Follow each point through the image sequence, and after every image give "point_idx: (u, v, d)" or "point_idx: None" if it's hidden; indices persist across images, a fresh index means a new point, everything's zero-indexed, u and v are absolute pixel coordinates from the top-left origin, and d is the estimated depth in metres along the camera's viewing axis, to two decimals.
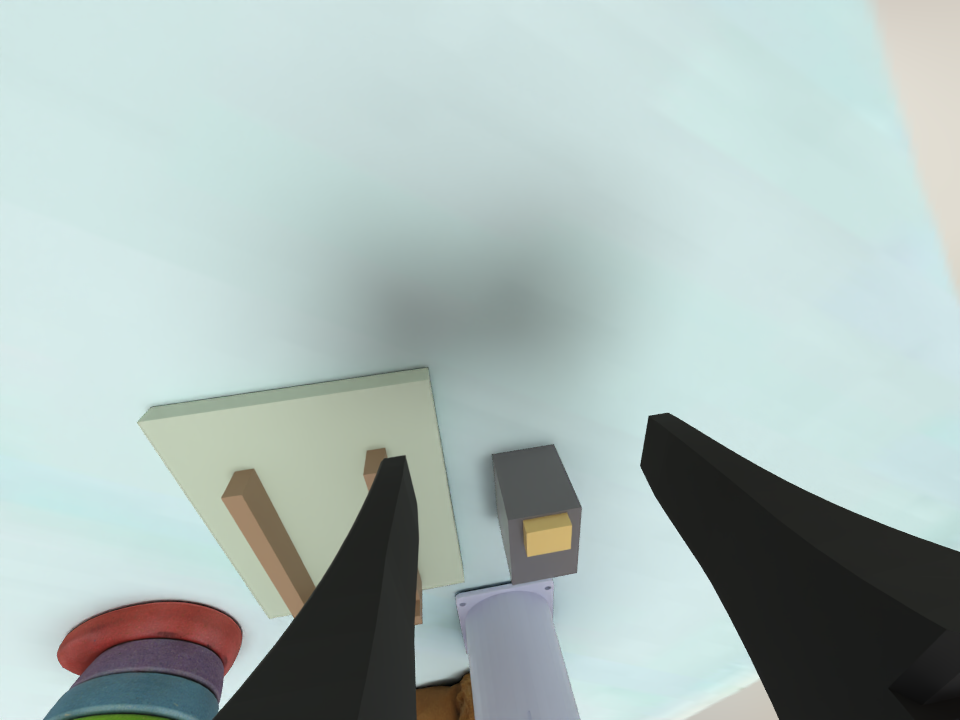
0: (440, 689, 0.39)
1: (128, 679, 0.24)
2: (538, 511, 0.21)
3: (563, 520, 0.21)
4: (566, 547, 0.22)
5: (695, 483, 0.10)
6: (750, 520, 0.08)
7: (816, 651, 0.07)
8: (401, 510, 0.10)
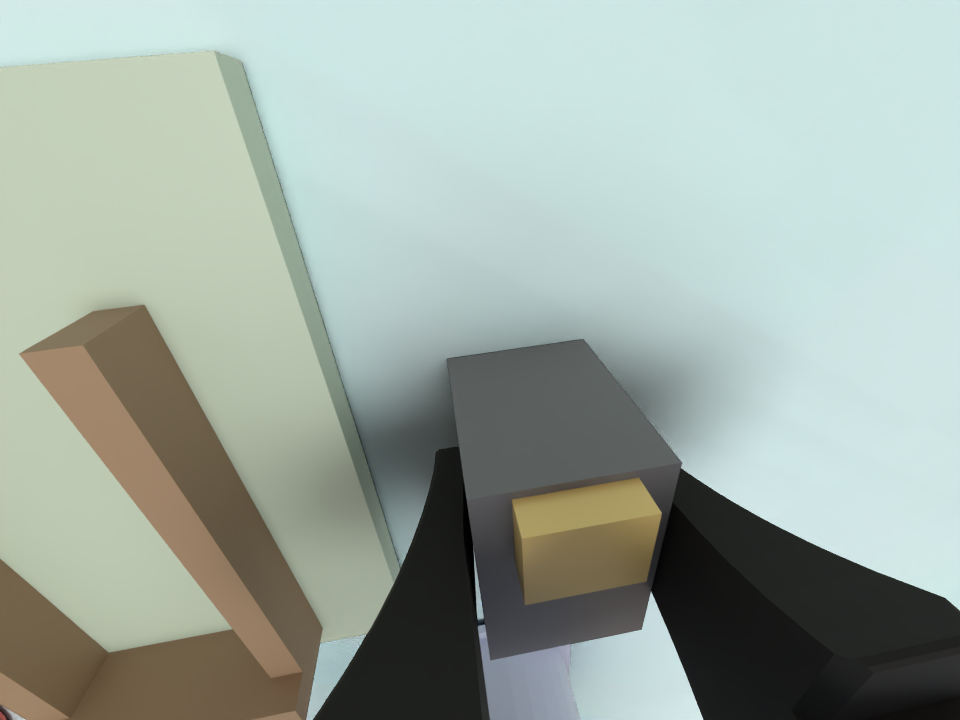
0: None
1: None
2: (556, 474, 0.07)
3: (632, 499, 0.07)
4: (635, 577, 0.08)
5: None
6: (680, 533, 0.08)
7: (735, 669, 0.07)
8: (464, 499, 0.10)
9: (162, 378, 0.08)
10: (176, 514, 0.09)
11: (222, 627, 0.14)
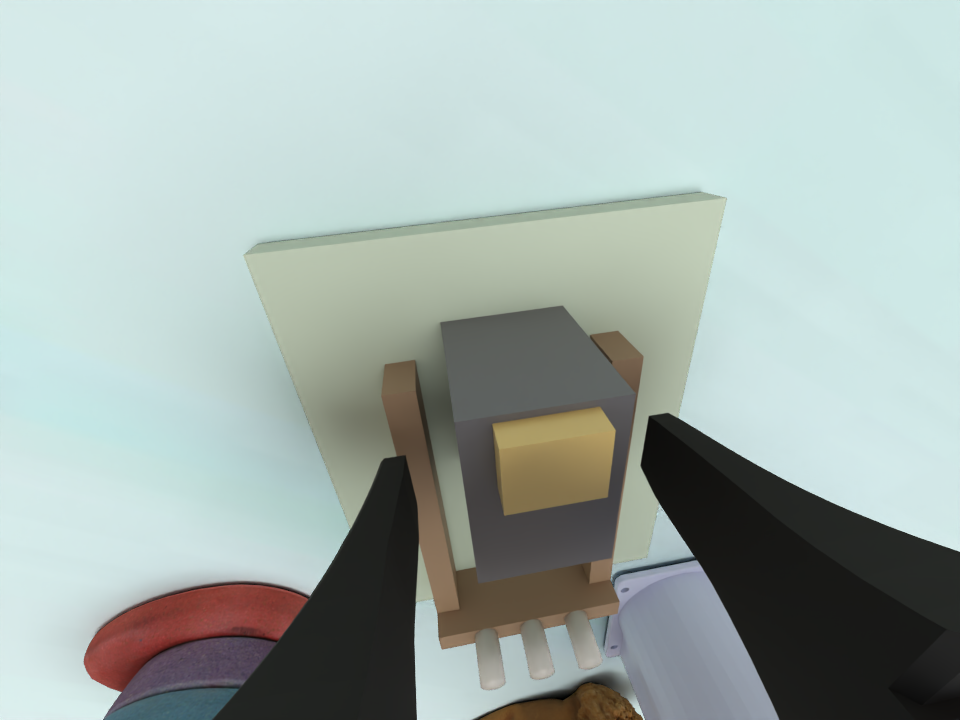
0: (552, 703, 0.31)
1: (199, 698, 0.15)
2: (530, 404, 0.09)
3: (592, 421, 0.08)
4: (597, 493, 0.09)
5: (695, 483, 0.10)
6: (750, 520, 0.08)
7: (816, 651, 0.07)
8: (401, 510, 0.10)
9: None
10: None
11: None
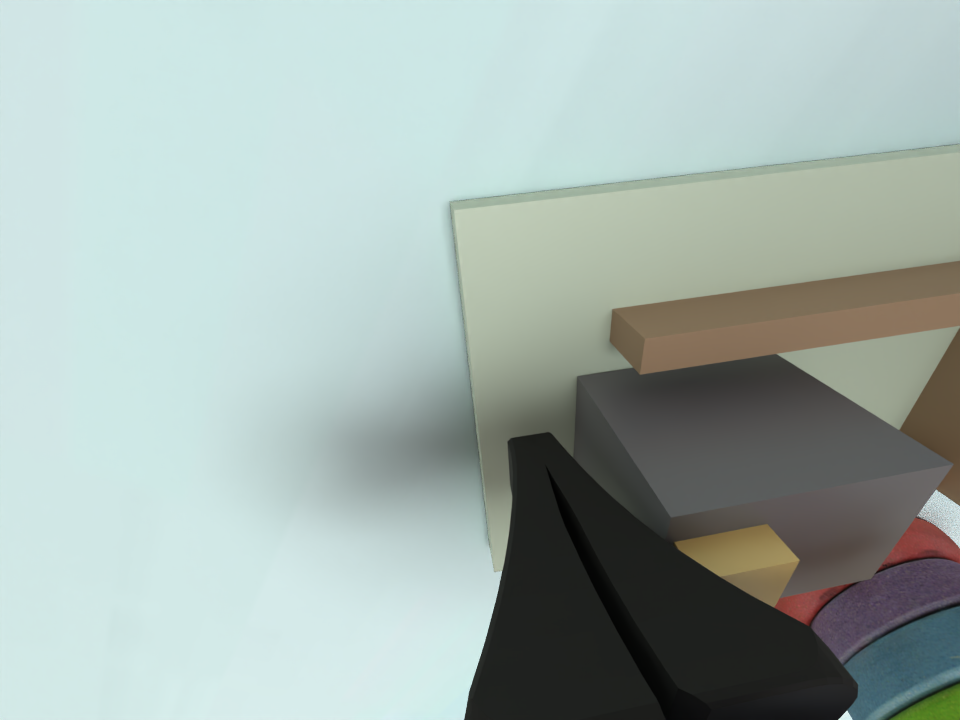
0: None
1: (864, 664, 0.18)
2: None
3: None
4: (786, 569, 0.08)
5: None
6: (584, 551, 0.08)
7: None
8: None
9: (675, 311, 0.10)
10: (806, 329, 0.10)
11: (942, 348, 0.13)
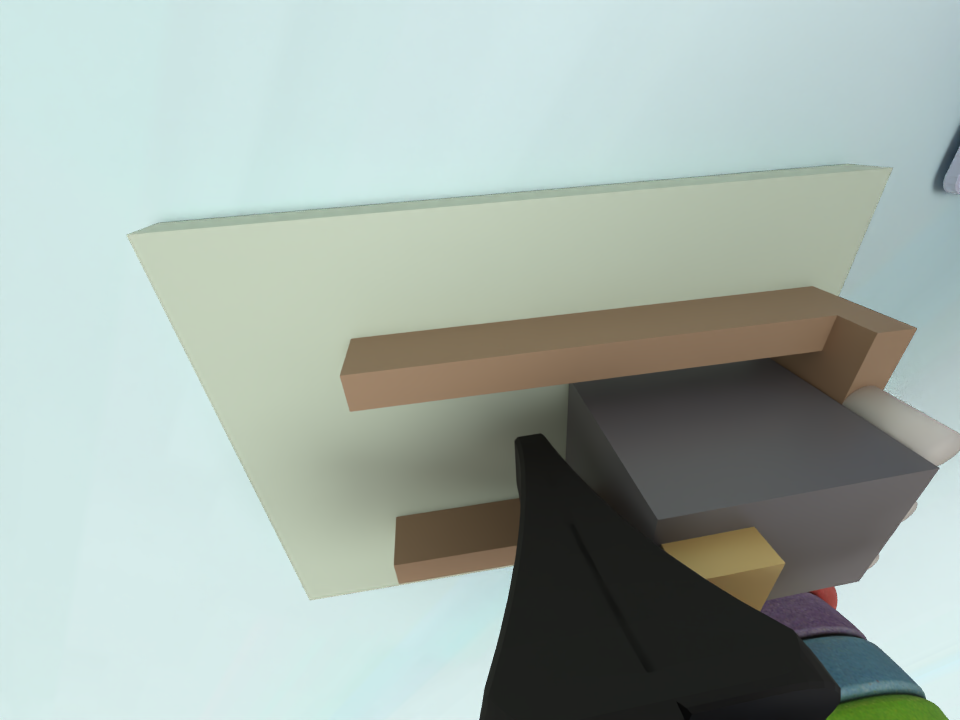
0: None
1: None
2: None
3: None
4: (772, 572, 0.08)
5: None
6: None
7: None
8: None
9: (406, 343, 0.10)
10: (527, 367, 0.09)
11: None
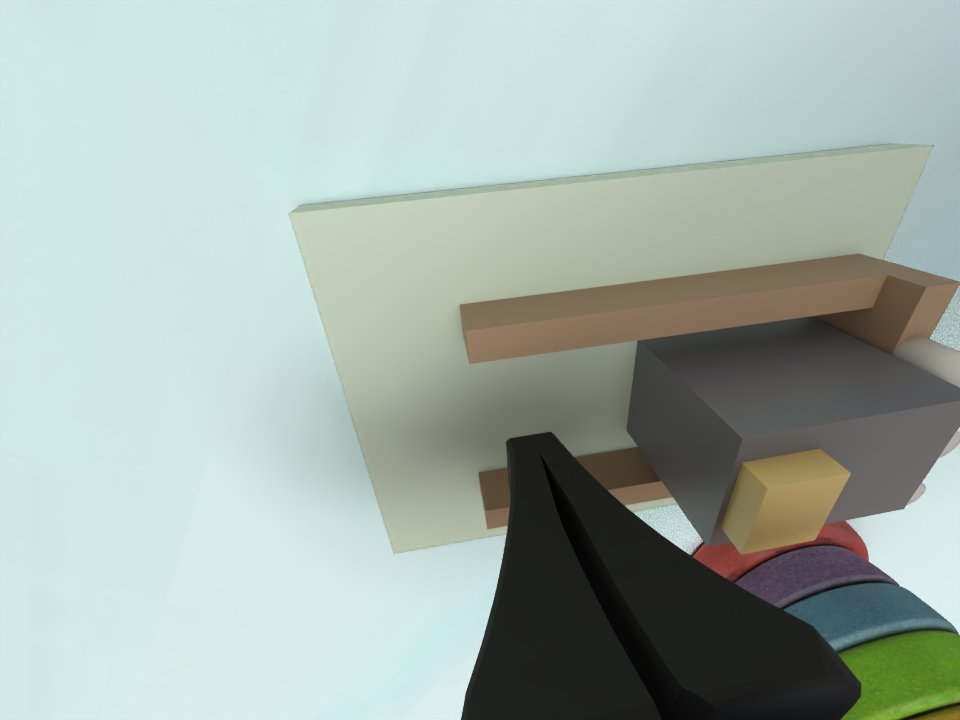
0: None
1: None
2: (715, 499, 0.10)
3: (751, 487, 0.09)
4: (839, 482, 0.09)
5: (557, 507, 0.10)
6: (586, 551, 0.08)
7: None
8: None
9: (511, 306, 0.11)
10: (621, 323, 0.11)
11: None
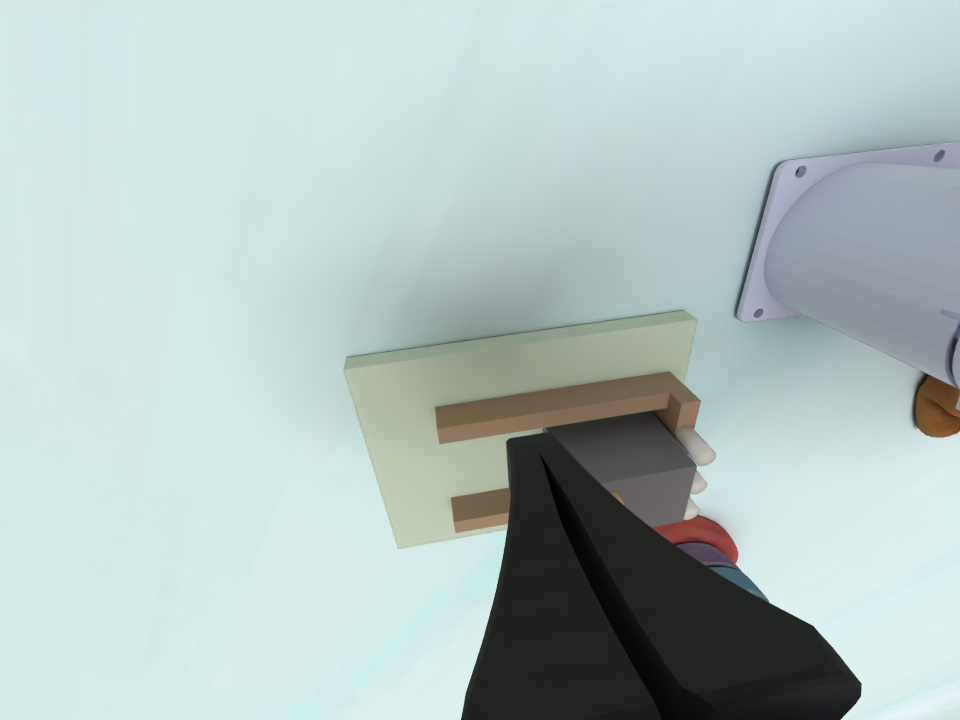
0: None
1: None
2: None
3: None
4: None
5: (557, 507, 0.10)
6: (586, 551, 0.08)
7: None
8: None
9: (463, 410, 0.21)
10: (521, 421, 0.20)
11: None
